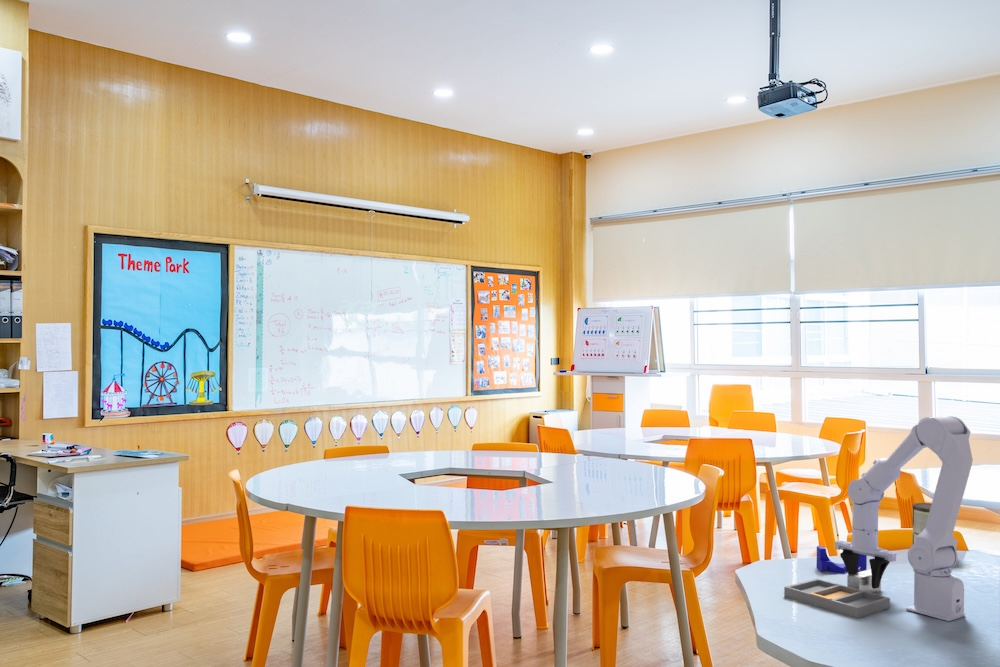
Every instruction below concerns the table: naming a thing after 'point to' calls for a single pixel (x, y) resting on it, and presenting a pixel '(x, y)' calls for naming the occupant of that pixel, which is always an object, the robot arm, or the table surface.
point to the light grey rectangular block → (862, 581)
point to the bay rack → (837, 597)
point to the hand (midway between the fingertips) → (864, 584)
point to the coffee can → (920, 518)
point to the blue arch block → (829, 566)
